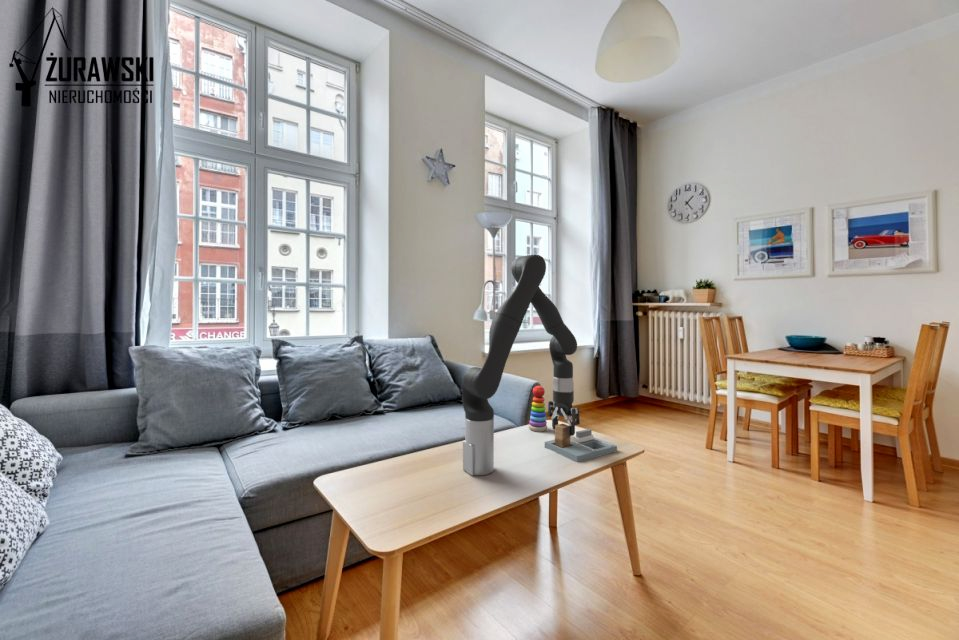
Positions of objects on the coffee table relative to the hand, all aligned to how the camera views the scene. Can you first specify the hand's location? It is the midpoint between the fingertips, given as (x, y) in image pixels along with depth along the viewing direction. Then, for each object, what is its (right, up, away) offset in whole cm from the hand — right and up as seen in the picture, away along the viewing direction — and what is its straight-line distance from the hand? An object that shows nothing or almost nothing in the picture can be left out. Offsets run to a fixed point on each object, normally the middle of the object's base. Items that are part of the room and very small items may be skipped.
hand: (563, 432), depth 152 cm
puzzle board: (+6, -6, +1) cm, 9 cm away
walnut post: (0, -7, 0) cm, 7 cm away
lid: (+7, -4, +6) cm, 10 cm away
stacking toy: (-6, -6, +25) cm, 26 cm away
